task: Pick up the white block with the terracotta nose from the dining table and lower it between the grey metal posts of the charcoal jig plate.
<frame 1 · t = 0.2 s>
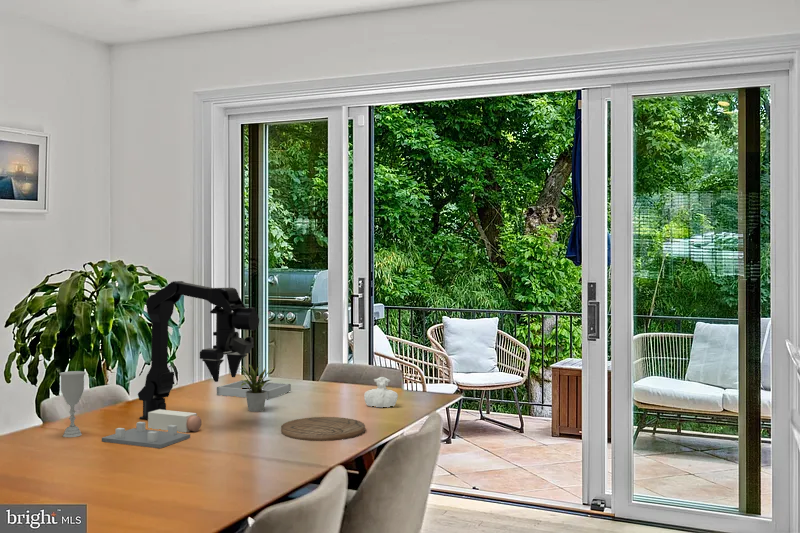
hand: (225, 379, 227), 14 cm above the table, tool pointing down, fingers open, 9 cm apart
trivet: (323, 432, 222), on the table
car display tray: (254, 393, 282), on the table
jig: (146, 439, 209), on the table
chalice: (72, 435, 214), on the table
white block: (172, 429, 223), on the table
bust: (381, 407, 259), on the table
house plant: (252, 410, 251), on the table
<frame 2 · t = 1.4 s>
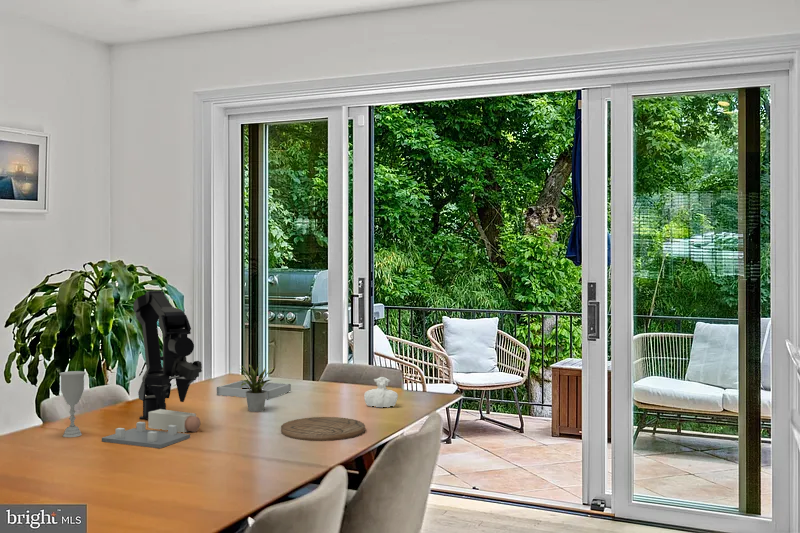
hand: (172, 404, 223), 7 cm above the table, tool pointing down, fingers open, 9 cm apart
nothing on the table moved.
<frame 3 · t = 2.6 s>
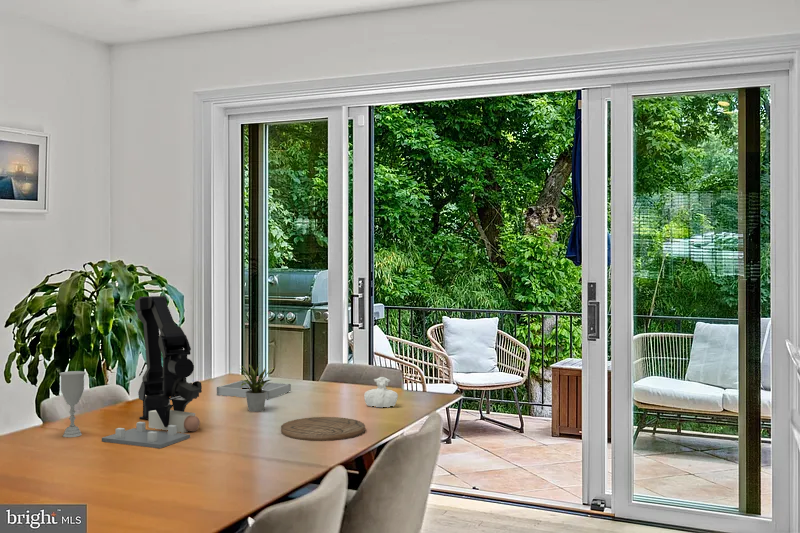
hand: (172, 425, 223), 1 cm above the table, tool pointing down, fingers closed on white block, 5 cm apart
white block: (171, 428, 223), on the table, touching gripper
everything else where it was.
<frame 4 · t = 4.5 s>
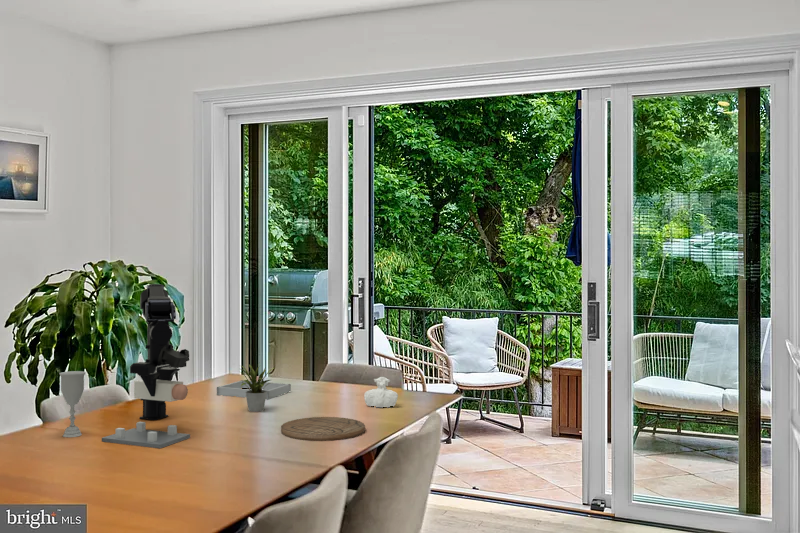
hand: (159, 394, 216), 11 cm above the table, tool pointing down, fingers closed on white block, 5 cm apart
white block: (158, 398, 216), point 10 cm above the table, touching gripper
everything else where it was.
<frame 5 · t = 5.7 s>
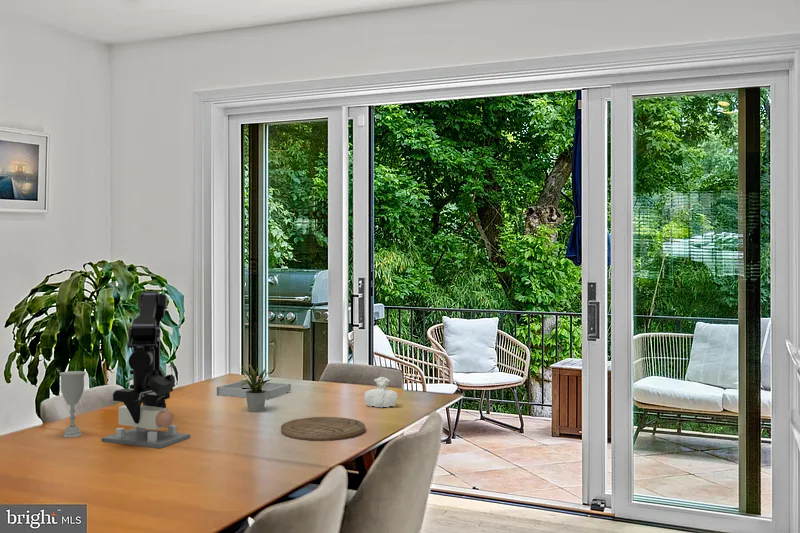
hand: (143, 421, 210), 5 cm above the table, tool pointing down, fingers closed on white block, 5 cm apart
white block: (143, 425, 210), point 4 cm above the table, touching gripper
everything else where it was.
when the fingers open (3 cm above the table, at t = 6.8 s): white block drops 1 cm, resting on jig.
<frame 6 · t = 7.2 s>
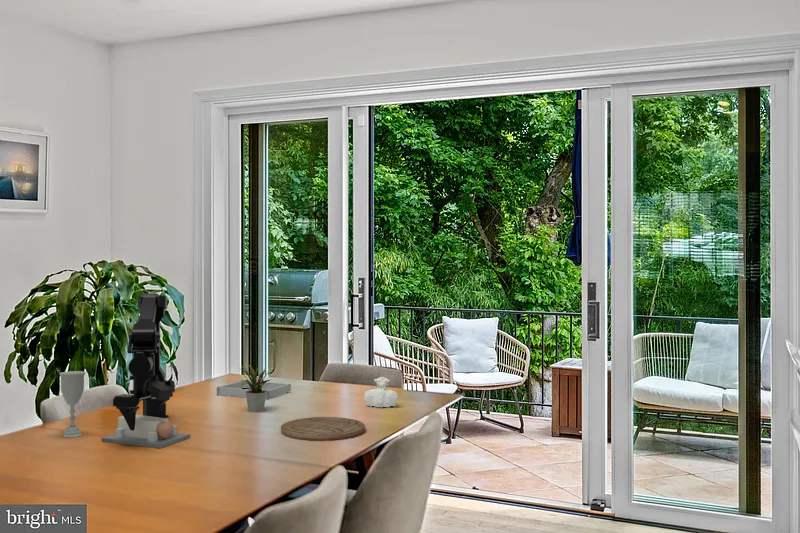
hand: (143, 426, 210), 3 cm above the table, tool pointing down, fingers open, 9 cm apart
white block: (143, 435, 210), point 1 cm above the table, touching jig
everything else where it was.
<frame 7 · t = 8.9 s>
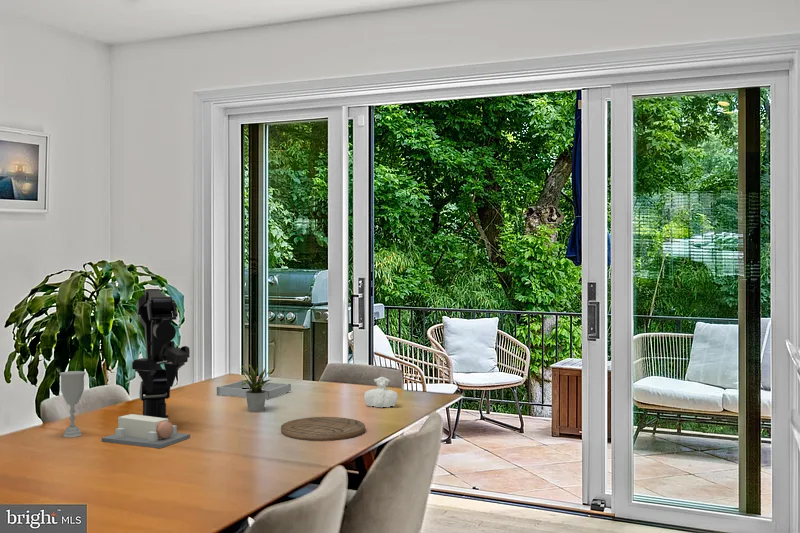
hand: (160, 389, 224), 12 cm above the table, tool pointing down, fingers open, 9 cm apart
nothing on the table moved.
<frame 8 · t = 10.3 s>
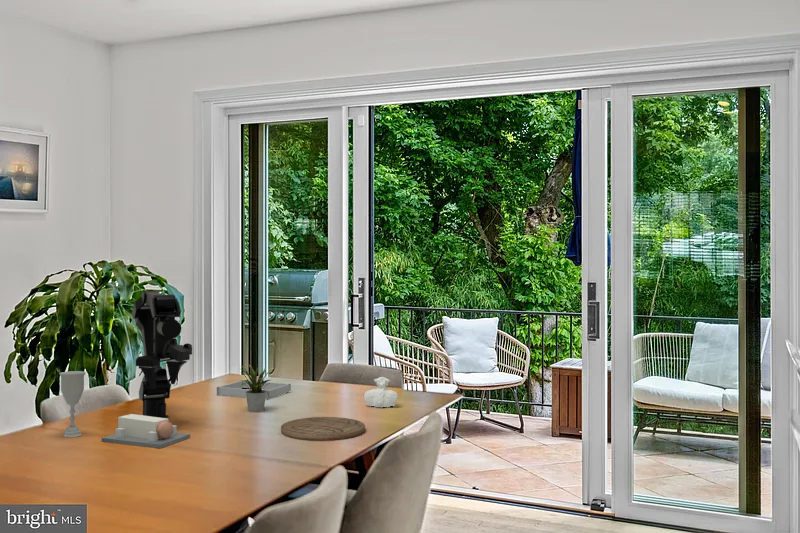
hand: (163, 386, 227), 12 cm above the table, tool pointing down, fingers open, 9 cm apart
nothing on the table moved.
at the end: white block 0.2 cm from the target spot on the jig, point 1.0 cm above the jig's base; white block tilted 0°; the gripper is holding nothing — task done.
